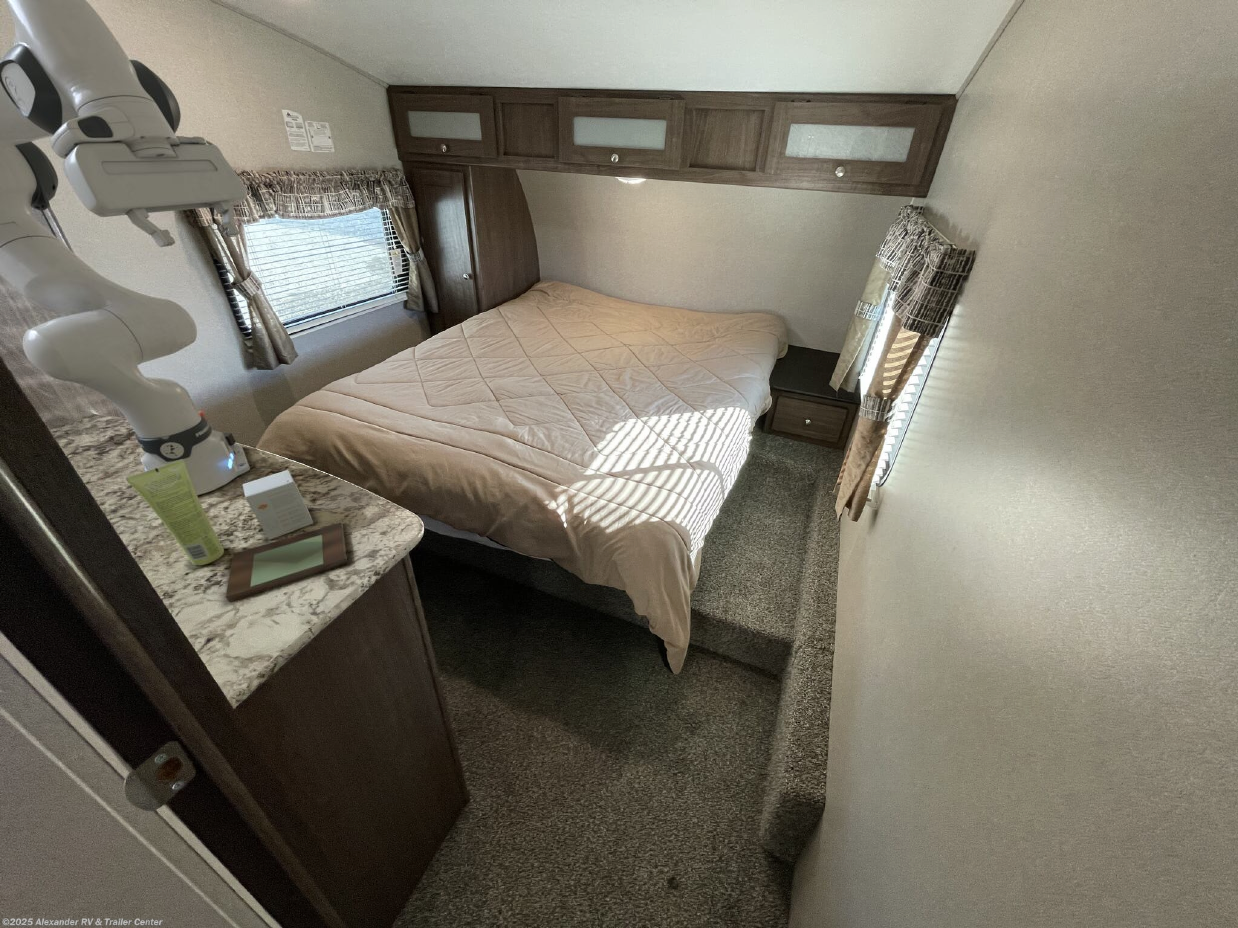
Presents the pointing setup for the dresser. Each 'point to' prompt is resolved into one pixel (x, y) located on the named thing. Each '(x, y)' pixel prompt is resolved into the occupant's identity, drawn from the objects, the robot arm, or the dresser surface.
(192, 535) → the tube
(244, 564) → the walnut board
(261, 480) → the small box
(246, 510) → the dresser surface
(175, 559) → the dresser surface
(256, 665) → the dresser surface
